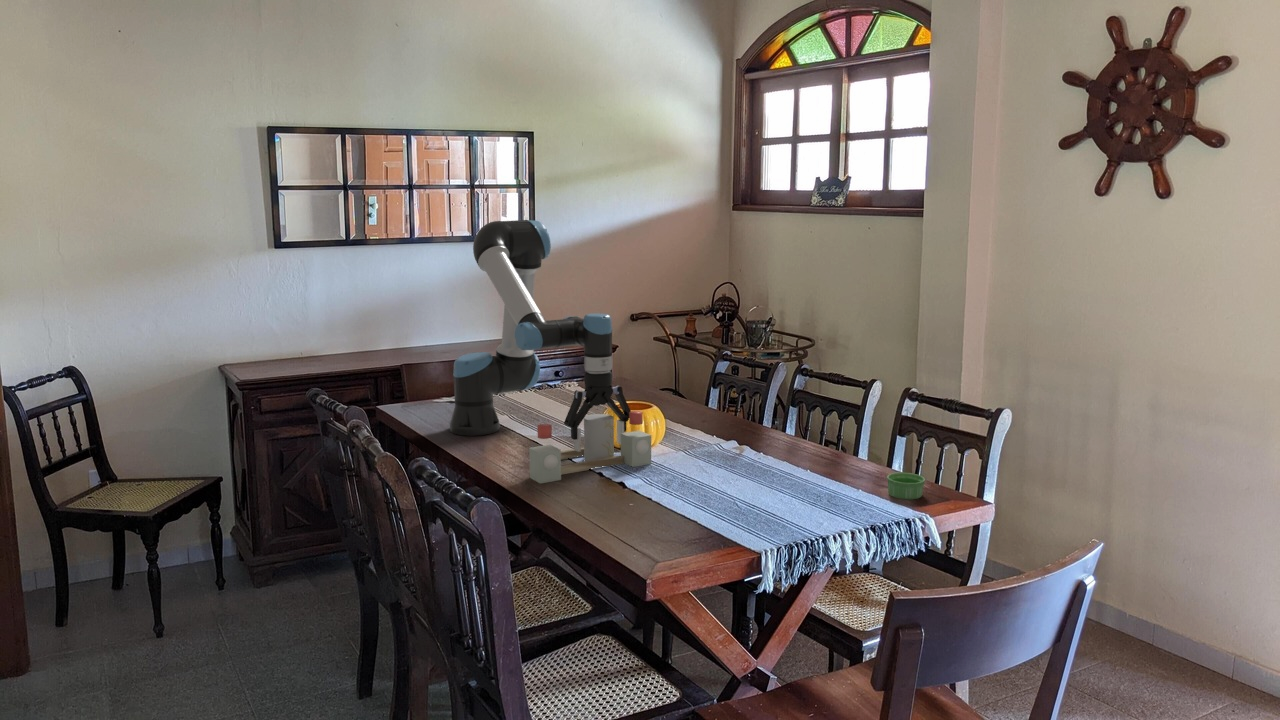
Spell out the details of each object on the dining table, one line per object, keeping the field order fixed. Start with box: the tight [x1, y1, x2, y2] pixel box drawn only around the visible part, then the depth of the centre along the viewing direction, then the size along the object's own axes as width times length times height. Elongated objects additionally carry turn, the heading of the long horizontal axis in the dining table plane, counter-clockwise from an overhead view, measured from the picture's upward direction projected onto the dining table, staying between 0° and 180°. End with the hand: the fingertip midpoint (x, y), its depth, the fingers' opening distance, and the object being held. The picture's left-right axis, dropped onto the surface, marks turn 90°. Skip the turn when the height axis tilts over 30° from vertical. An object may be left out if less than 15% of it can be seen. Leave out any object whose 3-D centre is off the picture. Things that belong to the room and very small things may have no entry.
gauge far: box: [628, 410, 644, 426], centre depth 271 cm, size 4×4×3 cm
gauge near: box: [536, 423, 553, 440], centre depth 256 cm, size 4×4×3 cm
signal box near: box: [528, 444, 562, 484], centre depth 258 cm, size 6×6×8 cm
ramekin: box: [886, 472, 926, 500], centre depth 245 cm, size 9×9×4 cm
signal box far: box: [620, 430, 652, 468], centre depth 272 cm, size 6×6×8 cm
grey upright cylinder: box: [583, 413, 615, 462], centre depth 275 cm, size 8×8×12 cm
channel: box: [561, 447, 624, 476], centre depth 273 cm, size 14×19×2 cm
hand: (599, 447), depth 275 cm, fingers open, 13 cm apart
